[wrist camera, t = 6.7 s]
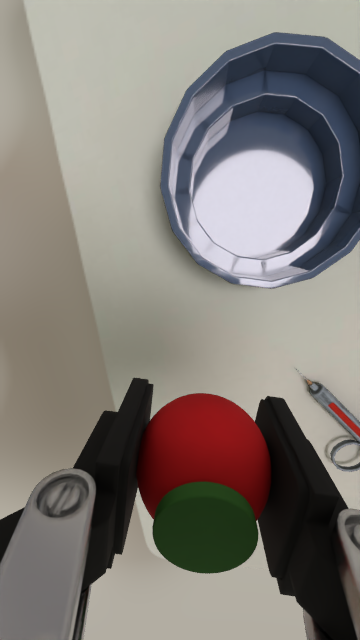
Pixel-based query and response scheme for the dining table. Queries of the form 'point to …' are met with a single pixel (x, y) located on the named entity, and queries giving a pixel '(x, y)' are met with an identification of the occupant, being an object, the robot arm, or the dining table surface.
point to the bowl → (267, 161)
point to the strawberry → (204, 482)
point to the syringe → (341, 415)
